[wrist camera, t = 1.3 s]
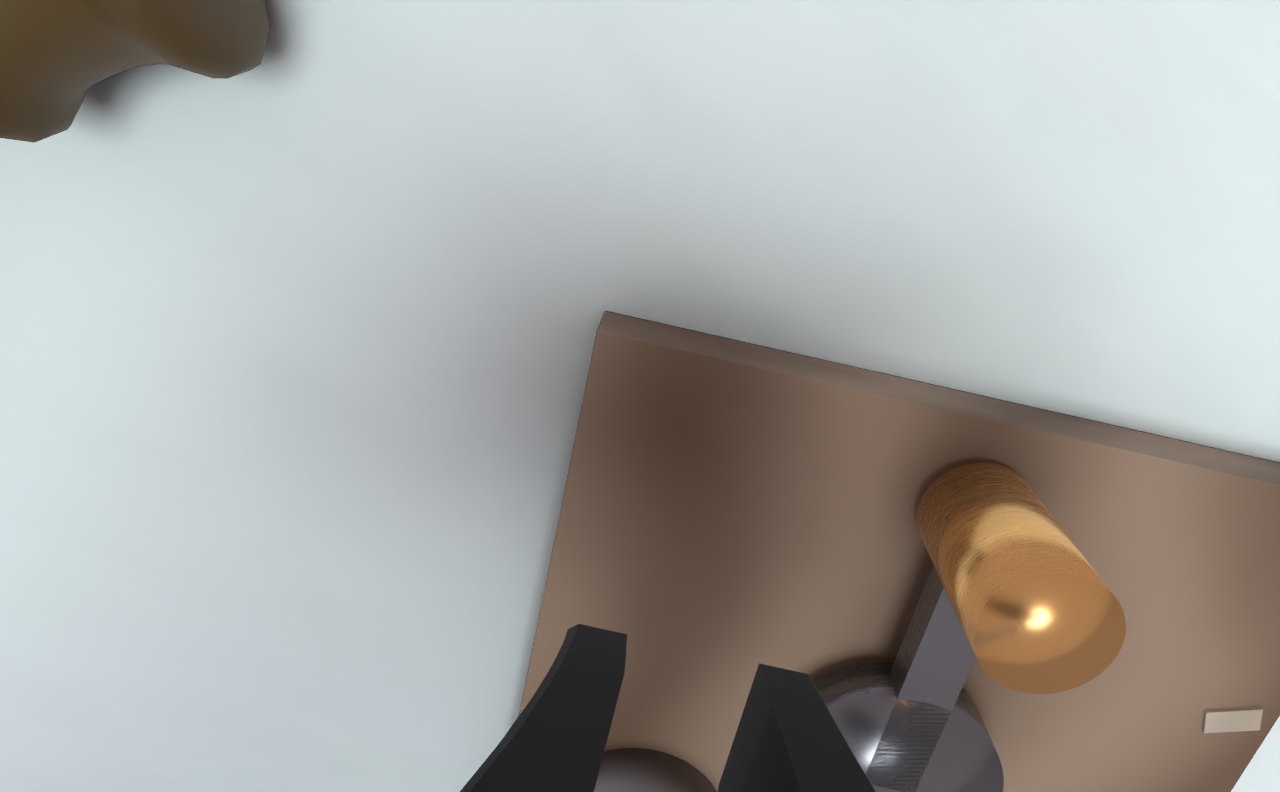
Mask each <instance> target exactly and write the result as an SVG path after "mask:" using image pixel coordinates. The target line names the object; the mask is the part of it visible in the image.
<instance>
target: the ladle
mask: <svg viewBox="0 0 1280 792" xmlns="http://www.w3.org/2000/svg"><path fill="white" fill-rule="evenodd" d="M917 528H918V531H919V534H920V537H921V539H922V541H923V543H924V545H925V547H926V550H927V552H928V554H929V556H930V558H931V560H932V562H933V568H932V570H931V573H930V575H929V578H928V580H927V583H926V585H925V587H924V590H923V592H922V595H921V597H920V600H919V602H918V605H917V607H916V610H915V612H914V614H913V617H912V619H911V622H910V624H909V627H908V629H907V632H906V634H905V637H904V639H903V641H902V644H901V646H900V649H899V651H898V654H897V656H896V659H895V661H894V663H889V662H876V663H865V664H858V665H853V666H849V667H845V668H841V669H838V670H836V671H833V672H831V673H828V674H826V675H824V676H822V677H820V678H818V679H816V680H814V681H813V684H814V685H815V687H816V689H817V691H818V692H819V694H820V696H821V698H822V699H823V701H824V703H825V705H826V706H827V708H828V710H829V712H830V713H831V715H832V717H833V719H834V721H835V722H836V724H837V726H838V728H839V729H840V731H841V733H842V735H843V736H844V738H845V740H846V742H847V743H848V745H849V747H850V749H851V750H852V752H853V754H854V756H855V757H856V759H857V761H858V762H859V764H860V766H861V768H862V769H863V771H864V773H865V774H866V776H867V778H868V779H869V781H870V783H871V784H872V786H873V788H874V789H875V791H876V792H1003V786H1004V776H1003V768H1002V765H1001V762H1000V759H999V756H998V753H997V751H996V749H995V746H994V744H993V742H992V739H991V737H990V735H989V732H988V730H987V728H986V725H985V723H984V721H983V718H982V716H981V714H980V712H979V710H978V709H977V707H976V705H975V704H974V703H973V701H972V700H971V699H970V697H969V696H968V695H967V694H966V693H965V692H964V691H963V690H962V687H963V685H964V683H965V681H966V678H967V676H968V674H969V672H970V670H971V667H972V665H973V663H974V661H975V659H976V658H977V660H978V662H979V664H980V665H981V667H982V668H983V670H984V671H985V672H986V673H987V674H988V675H989V676H990V677H991V678H992V679H994V680H995V681H996V682H998V683H999V684H1001V685H1003V686H1005V687H1007V688H1010V689H1012V690H1015V691H1019V692H1023V693H1029V694H1052V693H1059V692H1063V691H1067V690H1070V689H1073V688H1076V687H1079V686H1081V685H1083V684H1085V683H1087V682H1089V681H1091V680H1092V679H1094V678H1095V677H1097V676H1098V675H1099V674H1101V673H1102V672H1103V671H1104V670H1105V669H1106V668H1107V667H1108V666H1109V665H1110V664H1111V663H1112V662H1113V661H1114V659H1115V658H1116V656H1117V655H1118V653H1119V652H1120V649H1121V647H1122V645H1123V642H1124V638H1125V633H1126V619H1125V615H1124V611H1123V609H1122V607H1121V605H1120V603H1119V601H1118V600H1117V598H1116V597H1115V596H1114V594H1113V593H1112V592H1111V591H1110V589H1109V588H1108V587H1107V585H1106V584H1105V583H1104V582H1103V580H1102V579H1101V578H1100V576H1099V575H1098V574H1097V573H1096V571H1095V570H1094V569H1093V567H1092V566H1091V565H1090V564H1089V562H1088V561H1087V560H1086V558H1085V557H1084V556H1083V554H1082V553H1081V552H1080V551H1079V549H1078V548H1077V547H1076V545H1075V544H1074V543H1073V542H1072V540H1071V539H1070V538H1069V536H1068V535H1067V534H1066V533H1065V531H1064V530H1063V529H1062V527H1061V526H1060V525H1059V524H1058V522H1057V521H1056V520H1055V518H1054V517H1053V516H1052V515H1051V513H1050V512H1049V511H1048V509H1047V508H1046V507H1045V506H1044V504H1043V503H1042V502H1041V500H1040V499H1039V498H1038V496H1037V495H1036V494H1035V493H1034V491H1033V490H1032V489H1031V487H1030V486H1029V485H1028V484H1027V482H1026V481H1025V480H1024V479H1023V478H1022V477H1021V476H1020V475H1018V474H1017V473H1016V472H1014V471H1013V470H1011V469H1009V468H1006V467H1004V466H1001V465H997V464H992V463H972V464H966V465H963V466H959V467H956V468H954V469H952V470H950V471H948V472H946V473H944V474H943V475H941V476H940V477H939V478H937V479H936V480H935V481H934V482H933V483H932V484H931V485H930V486H929V487H928V488H927V490H926V491H925V493H924V494H923V496H922V498H921V500H920V502H919V505H918V509H917Z"/></svg>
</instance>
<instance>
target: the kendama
mask: <svg viewBox="0 0 1280 792" xmlns="http://www.w3.org/2000/svg"><path fill="white" fill-rule="evenodd" d="M269 26H270V25H269V19H268V14H267V9H266V3H265V0H0V138H6V139H13V140H21V141H28V142H37V141H39V140H42V139H44V138H47V137H49V136H52V135H54V134H57V133H60V132H62V131H65V130H67V129H68V128H69V127H70V125H71V124H72V122H73V120H74V118H75V116H76V114H77V112H78V109H79V107H80V105H81V103H82V101H83V99H84V97H85V93H86V90H87V89H89V88H90V87H91V86H92V85H94V84H96V83H98V82H100V81H102V80H104V79H106V78H108V77H110V76H112V75H115V74H117V73H120V72H123V71H126V70H129V69H132V68H134V67H138V66H146V65H154V64H169V65H173V66H176V67H179V68H182V69H185V70H189V71H192V72H195V73H198V74H201V75H205V76H208V77H211V78H229V77H232V76H235V75H238V74H241V73H243V72H246V71H249V70H251V69H253V68H254V67H256V66H258V65H259V64H261V60H262V57H263V54H264V50H265V47H266V44H267V40H268V34H269Z"/></svg>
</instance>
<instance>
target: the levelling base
mask: <svg viewBox="0 0 1280 792" xmlns="http://www.w3.org/2000/svg"><path fill="white" fill-rule="evenodd" d="M972 463H992V464H997V465H1001V466H1004V467H1006V468H1009V469H1011V470H1013V471H1014V472H1016V473H1017V474H1018V475H1020V476H1021V477H1022V478H1023V479H1024V480H1025V481H1026V482H1027V484H1028V485H1029V486H1030V487H1031V489H1032V490H1033V491H1034V493H1035V494H1036V495H1037V496H1038V498H1039V499H1040V500H1041V502H1042V503H1043V504H1044V506H1045V507H1046V508H1047V509H1048V511H1049V512H1050V513H1051V515H1052V516H1053V517H1054V518H1055V520H1056V521H1057V522H1058V524H1059V525H1060V526H1061V527H1062V529H1063V530H1064V531H1065V533H1066V534H1067V535H1068V536H1069V538H1070V539H1071V540H1072V542H1073V543H1074V544H1075V545H1076V547H1077V548H1078V549H1079V551H1080V552H1081V553H1082V554H1083V556H1084V557H1085V558H1086V560H1087V561H1088V562H1089V564H1090V565H1091V566H1092V567H1093V569H1094V570H1095V571H1096V573H1097V574H1098V575H1099V576H1100V578H1101V579H1102V580H1103V582H1104V583H1105V584H1106V585H1107V587H1108V588H1109V589H1110V591H1111V592H1112V593H1113V594H1114V596H1115V597H1116V598H1117V600H1118V601H1119V603H1120V605H1121V607H1122V609H1123V611H1124V615H1125V619H1126V633H1125V638H1124V642H1123V645H1122V647H1121V649H1120V652H1119V653H1118V655H1117V656H1116V658H1115V659H1114V661H1113V662H1112V663H1111V664H1110V665H1109V666H1108V667H1107V668H1106V669H1105V670H1104V671H1103V672H1102V673H1101V674H1099V675H1098V676H1097V677H1095V678H1094V679H1092V680H1091V681H1089V682H1087V683H1085V684H1083V685H1081V686H1079V687H1076V688H1073V689H1070V690H1067V691H1063V692H1059V693H1052V694H1029V693H1023V692H1019V691H1015V690H1012V689H1010V688H1007V687H1005V686H1003V685H1001V684H999V683H998V682H996V681H995V680H994V679H992V678H991V677H990V676H989V675H988V674H987V673H986V672H985V671H984V670H983V668H982V667H981V665H980V664H979V662H978V660H977V658H976V659H975V661H974V663H973V665H972V667H971V670H970V672H969V674H968V676H967V678H966V681H965V683H964V685H963V687H962V690H963V691H964V692H965V693H966V694H967V695H968V696H969V697H970V699H971V700H972V701H973V703H974V704H975V705H976V707H977V709H978V710H979V712H980V714H981V716H982V718H983V721H984V723H985V725H986V728H987V730H988V732H989V735H990V737H991V739H992V742H993V744H994V746H995V749H996V751H997V753H998V756H999V759H1000V762H1001V765H1002V768H1003V776H1004V786H1003V792H1231V790H1232V789H1233V787H1234V786H1235V784H1236V782H1237V781H1238V779H1239V778H1240V776H1241V775H1242V773H1243V772H1244V770H1245V768H1246V767H1247V765H1248V764H1249V762H1250V761H1251V759H1252V758H1253V756H1254V754H1255V753H1256V751H1257V750H1258V748H1259V747H1260V745H1261V744H1262V742H1263V740H1264V739H1265V737H1266V736H1267V734H1268V733H1269V731H1270V730H1271V728H1272V727H1273V725H1274V723H1275V722H1276V720H1277V719H1278V717H1279V716H1280V463H1278V462H1273V461H1269V460H1265V459H1260V458H1256V457H1251V456H1247V455H1242V454H1238V453H1233V452H1229V451H1225V450H1220V449H1216V448H1211V447H1207V446H1202V445H1198V444H1194V443H1189V442H1185V441H1180V440H1176V439H1171V438H1167V437H1162V436H1158V435H1154V434H1149V433H1145V432H1140V431H1136V430H1131V429H1127V428H1122V427H1118V426H1114V425H1109V424H1105V423H1100V422H1096V421H1091V420H1087V419H1083V418H1078V417H1074V416H1069V415H1065V414H1060V413H1056V412H1051V411H1047V410H1043V409H1038V408H1034V407H1029V406H1025V405H1020V404H1016V403H1012V402H1007V401H1003V400H998V399H994V398H989V397H985V396H980V395H976V394H972V393H967V392H963V391H958V390H954V389H949V388H945V387H941V386H936V385H932V384H927V383H923V382H918V381H914V380H909V379H905V378H901V377H896V376H892V375H887V374H883V373H878V372H874V371H869V370H865V369H861V368H856V367H852V366H847V365H843V364H838V363H834V362H830V361H825V360H821V359H816V358H812V357H807V356H803V355H798V354H794V353H790V352H785V351H781V350H776V349H772V348H767V347H763V346H759V345H754V344H750V343H745V342H741V341H736V340H732V339H727V338H723V337H719V336H714V335H710V334H705V333H701V332H696V331H692V330H687V329H683V328H679V327H674V326H670V325H665V324H661V323H656V322H652V321H648V320H643V319H639V318H634V317H630V316H625V315H621V314H616V313H612V312H608V311H605V312H604V314H603V317H602V320H601V322H600V325H599V327H598V330H597V333H596V338H595V343H594V348H593V353H592V358H591V363H590V368H589V373H588V378H587V383H586V388H585V393H584V397H583V402H582V407H581V412H580V417H579V422H578V427H577V432H576V437H575V442H574V447H573V452H572V457H571V462H570V467H569V471H568V476H567V481H566V486H565V491H564V496H563V501H562V506H561V511H560V516H559V521H558V526H557V531H556V536H555V541H554V546H553V550H552V555H551V560H550V565H549V570H548V575H547V580H546V585H545V590H544V595H543V600H542V605H541V610H540V615H539V620H538V624H537V629H536V634H535V639H534V644H533V649H532V654H531V659H530V664H529V669H528V674H527V679H526V684H525V689H524V694H523V698H522V703H521V708H520V713H519V715H520V714H521V713H522V711H523V710H524V708H525V707H526V705H527V704H528V703H529V701H530V700H531V698H532V697H533V695H534V694H535V692H536V691H537V689H538V687H539V686H540V684H541V683H542V681H543V679H544V678H545V676H546V675H547V673H548V671H549V669H550V668H551V666H552V664H553V662H554V660H555V658H556V657H557V655H558V652H559V650H560V648H561V646H562V644H563V642H564V639H565V636H566V633H567V630H568V629H569V628H571V627H573V626H575V625H577V624H582V625H587V626H591V627H596V628H601V629H605V630H610V631H614V632H619V633H623V634H627V645H626V661H625V673H624V677H623V681H622V685H621V689H620V693H619V697H618V700H617V704H616V708H615V712H614V716H613V720H612V724H611V728H610V731H609V735H608V739H607V743H606V747H605V751H604V755H603V759H602V763H601V766H600V770H599V774H598V778H597V782H596V786H595V790H594V792H718V786H719V783H720V780H721V777H722V774H723V771H724V768H725V765H726V762H727V759H728V756H729V752H730V749H731V746H732V743H733V740H734V737H735V734H736V731H737V728H738V725H739V722H740V719H741V716H742V713H743V710H744V707H745V704H746V701H747V698H748V695H749V692H750V689H751V686H752V683H753V680H754V677H755V674H756V671H757V668H758V665H759V663H760V664H765V665H769V666H774V667H778V668H783V669H787V670H792V671H796V672H801V673H806V674H808V675H809V677H810V679H811V680H812V682H813V681H814V680H816V679H818V678H820V677H822V676H824V675H826V674H828V673H831V672H833V671H836V670H838V669H841V668H845V667H849V666H853V665H858V664H865V663H876V662H889V663H894V661H895V659H896V656H897V654H898V651H899V649H900V646H901V644H902V641H903V639H904V637H905V634H906V632H907V629H908V627H909V624H910V622H911V619H912V617H913V614H914V612H915V610H916V607H917V605H918V602H919V600H920V597H921V595H922V592H923V590H924V587H925V585H926V583H927V580H928V578H929V575H930V573H931V570H932V568H933V562H932V560H931V558H930V556H929V554H928V552H927V550H926V547H925V545H924V543H923V541H922V539H921V537H920V534H919V531H918V528H917V509H918V505H919V502H920V500H921V498H922V496H923V494H924V493H925V491H926V490H927V488H928V487H929V486H930V485H931V484H932V483H933V482H934V481H935V480H936V479H937V478H939V477H940V476H941V475H943V474H944V473H946V472H948V471H950V470H952V469H954V468H956V467H959V466H963V465H966V464H972Z"/></svg>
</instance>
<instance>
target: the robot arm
mask: <svg viewBox="0 0 1280 792" xmlns="http://www.w3.org/2000/svg"><path fill="white" fill-rule="evenodd" d="M626 645H627V634H623V633H619V632H614V631H610V630H605V629H601V628H596V627H591V626H587V625H582V624H577V625H575V626H573V627H571V628H569V629H568V630H567V633H566V636H565V639H564V642H563V644H562V646H561V648H560V650H559V652H558V655H557V657H556V658H555V660H554V662H553V664H552V666H551V668H550V669H549V671H548V673H547V675H546V676H545V678H544V679H543V681H542V683H541V684H540V686H539V687H538V689H537V691H536V692H535V694H534V695H533V697H532V698H531V700H530V701H529V703H528V704H527V705H526V707H525V708H524V710H523V711H522V713H521V714H520V715H519V717H518V718H517V720H516V721H515V722H514V724H513V725H512V727H511V728H510V730H509V731H508V732H507V734H506V735H505V737H504V738H503V739H502V741H501V742H500V743H499V745H498V746H497V747H496V748H495V750H494V751H493V752H492V753H491V755H490V756H489V757H488V758H487V759H486V761H485V762H484V763H483V764H482V766H481V767H480V768H479V769H478V770H477V772H476V773H475V774H474V775H473V777H472V778H471V779H470V780H469V781H468V783H467V784H466V785H465V786H464V787H463V789H462V790H461V791H460V792H594V790H595V786H596V782H597V778H598V774H599V770H600V766H601V763H602V759H603V755H604V751H605V747H606V743H607V739H608V735H609V731H610V728H611V724H612V720H613V716H614V712H615V708H616V704H617V700H618V697H619V693H620V689H621V685H622V681H623V677H624V673H625V661H626ZM718 792H876V791H875V789H874V788H873V786H872V784H871V783H870V781H869V779H868V778H867V776H866V774H865V773H864V771H863V769H862V768H861V766H860V764H859V762H858V761H857V759H856V757H855V756H854V754H853V752H852V750H851V749H850V747H849V745H848V743H847V742H846V740H845V738H844V736H843V735H842V733H841V731H840V729H839V728H838V726H837V724H836V722H835V721H834V719H833V717H832V715H831V713H830V712H829V710H828V708H827V706H826V705H825V703H824V701H823V699H822V698H821V696H820V694H819V692H818V691H817V689H816V687H815V685H814V684H813V682H812V680H811V679H810V677H809V675H808V674H806V673H801V672H796V671H792V670H787V669H783V668H778V667H774V666H769V665H765V664H760V663H759V665H758V668H757V671H756V674H755V677H754V680H753V683H752V686H751V689H750V692H749V695H748V698H747V701H746V704H745V707H744V710H743V713H742V716H741V719H740V722H739V725H738V728H737V731H736V734H735V737H734V740H733V743H732V746H731V749H730V752H729V756H728V759H727V762H726V765H725V768H724V771H723V774H722V777H721V780H720V783H719V786H718Z"/></svg>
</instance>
